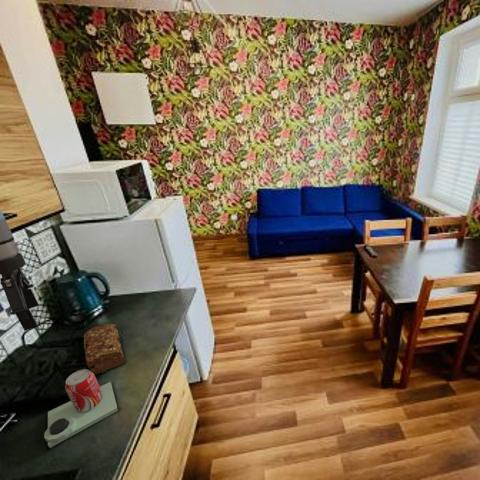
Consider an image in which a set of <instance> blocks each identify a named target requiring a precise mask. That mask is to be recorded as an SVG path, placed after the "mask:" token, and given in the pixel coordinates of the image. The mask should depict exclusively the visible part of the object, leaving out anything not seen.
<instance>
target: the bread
mask: <svg viewBox="0 0 480 480" xmlns="http://www.w3.org/2000/svg"><path fill="white" fill-rule="evenodd" d="M83 348H84V353H85V355H84V356H85V357H84V358H85V363H86V365H87V367H88V370H89V371H90V372H92V373H93V374H94V375H95V376H97V375H99V374H104V373H105V372H107V371H109V370H111V369H113V368H117V367H119V366H122V365H123V364H125V356H124V353H123V348H122V344H121V339H120V335H119V331H118V327H117V325H116V324H113V323H112V324H111V323H110V324H109V323H108V324H107V323H106V324H102V325H97V326H94V327H92V328H90V329H88V330H87V331H85V333H84V334H83Z"/></svg>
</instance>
